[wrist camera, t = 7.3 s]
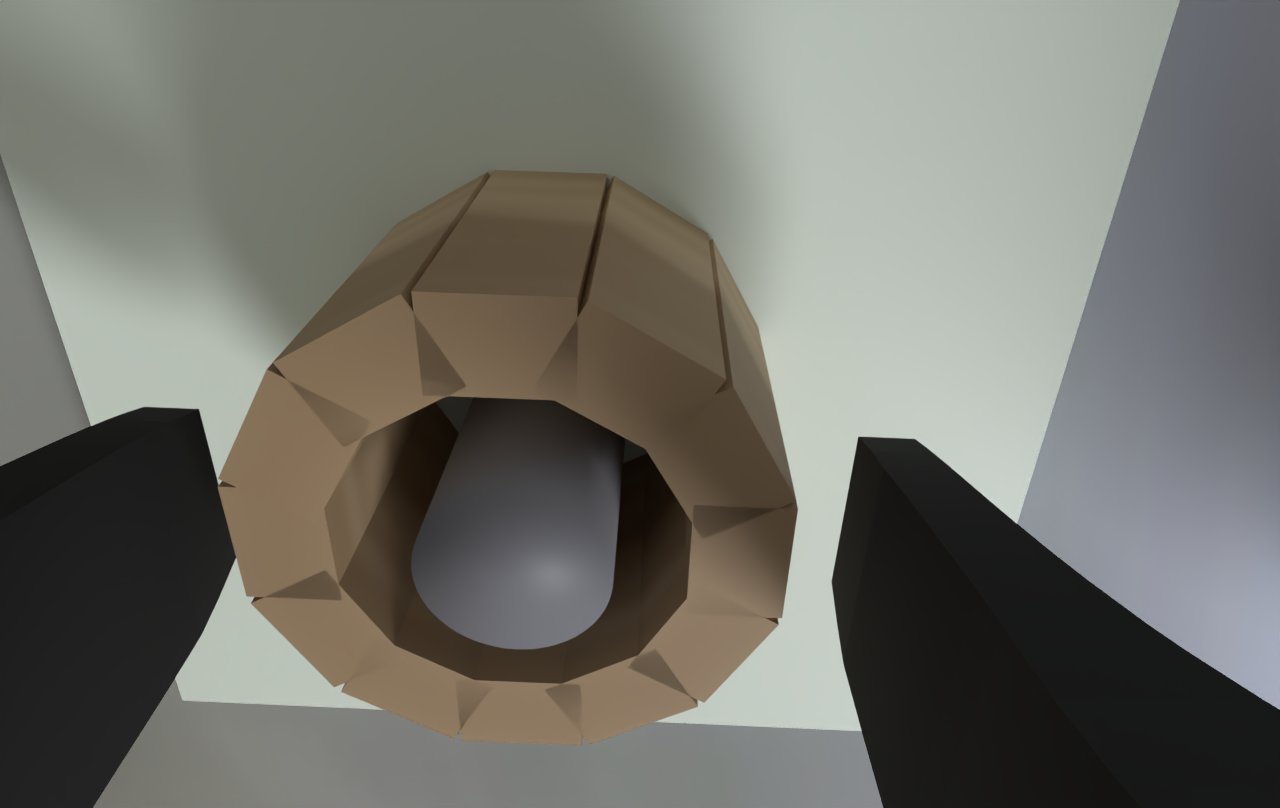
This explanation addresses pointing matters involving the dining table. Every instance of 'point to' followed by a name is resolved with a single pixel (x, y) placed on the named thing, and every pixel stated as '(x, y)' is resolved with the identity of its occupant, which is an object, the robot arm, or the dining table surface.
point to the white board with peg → (617, 146)
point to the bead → (521, 369)
